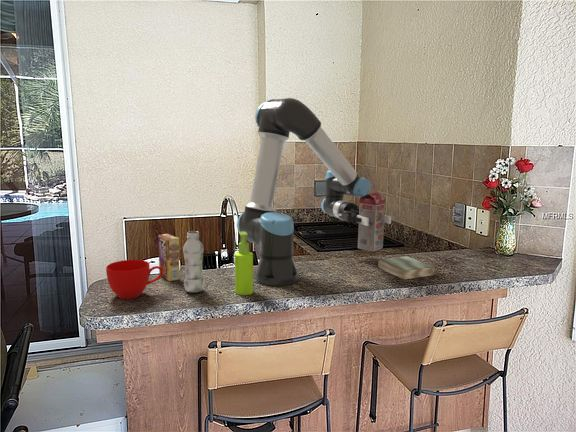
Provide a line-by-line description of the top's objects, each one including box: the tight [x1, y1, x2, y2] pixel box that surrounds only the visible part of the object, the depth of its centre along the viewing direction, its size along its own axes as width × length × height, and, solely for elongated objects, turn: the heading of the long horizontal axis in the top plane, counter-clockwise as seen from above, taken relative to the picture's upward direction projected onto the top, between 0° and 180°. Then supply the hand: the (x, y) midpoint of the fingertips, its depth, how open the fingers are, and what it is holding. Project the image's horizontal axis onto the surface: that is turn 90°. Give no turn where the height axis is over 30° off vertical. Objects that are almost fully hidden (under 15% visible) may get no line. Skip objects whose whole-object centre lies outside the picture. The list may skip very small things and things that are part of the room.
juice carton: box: [357, 187, 386, 252], centre depth 168 cm, size 7×7×22 cm
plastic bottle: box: [182, 230, 206, 294], centre depth 149 cm, size 6×7×20 cm
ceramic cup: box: [105, 259, 162, 300], centre depth 147 cm, size 13×17×10 cm
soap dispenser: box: [234, 231, 254, 296], centre depth 150 cm, size 6×7×20 cm
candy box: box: [157, 233, 181, 282], centre depth 164 cm, size 9×4×15 cm, turn 39°
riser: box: [377, 255, 436, 280], centre depth 176 cm, size 14×16×3 cm
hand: (378, 221), depth 163 cm, fingers closed on juice carton, 9 cm apart
